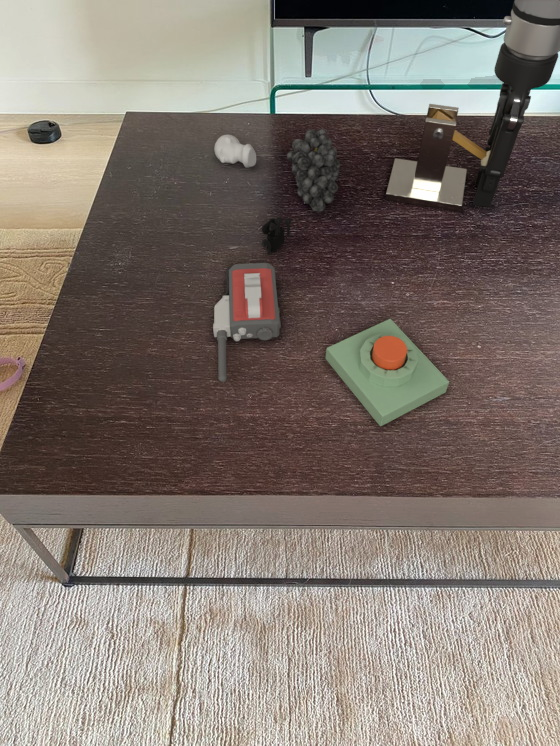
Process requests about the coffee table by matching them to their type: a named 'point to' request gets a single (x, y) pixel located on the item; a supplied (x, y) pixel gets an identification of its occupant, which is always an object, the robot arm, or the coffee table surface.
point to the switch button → (389, 352)
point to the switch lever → (466, 141)
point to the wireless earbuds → (275, 234)
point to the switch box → (385, 374)
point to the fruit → (315, 168)
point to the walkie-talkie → (246, 308)
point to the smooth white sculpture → (234, 151)
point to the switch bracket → (430, 168)
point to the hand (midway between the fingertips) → (482, 194)
